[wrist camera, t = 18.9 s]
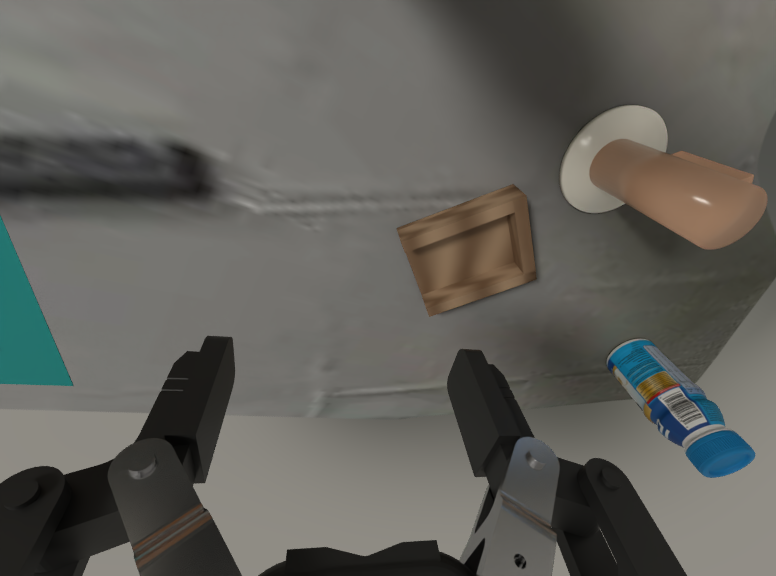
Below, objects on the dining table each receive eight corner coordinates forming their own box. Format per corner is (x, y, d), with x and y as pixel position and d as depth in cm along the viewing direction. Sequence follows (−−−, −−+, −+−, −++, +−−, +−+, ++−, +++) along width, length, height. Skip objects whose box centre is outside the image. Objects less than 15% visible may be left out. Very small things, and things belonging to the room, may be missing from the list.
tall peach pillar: (589, 195, 43) (689, 258, 31) (589, 149, 40) (700, 200, 28) (654, 171, 42) (782, 227, 30) (659, 123, 39) (805, 164, 27)
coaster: (590, 95, 37) (595, 96, 37) (684, 115, 40) (690, 116, 39) (542, 204, 44) (545, 206, 43) (625, 215, 46) (629, 218, 46)
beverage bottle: (661, 334, 61) (779, 443, 45) (639, 368, 66) (739, 478, 50) (615, 337, 60) (719, 450, 44) (596, 372, 65) (684, 485, 49)
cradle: (423, 300, 50) (429, 316, 47) (396, 228, 43) (401, 242, 41) (524, 264, 49) (536, 279, 46) (513, 184, 42) (526, 195, 39)
